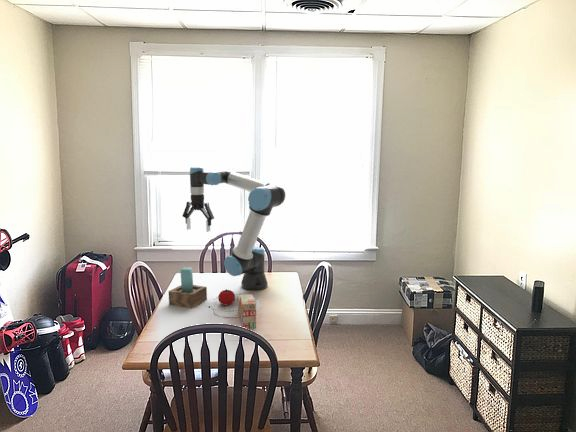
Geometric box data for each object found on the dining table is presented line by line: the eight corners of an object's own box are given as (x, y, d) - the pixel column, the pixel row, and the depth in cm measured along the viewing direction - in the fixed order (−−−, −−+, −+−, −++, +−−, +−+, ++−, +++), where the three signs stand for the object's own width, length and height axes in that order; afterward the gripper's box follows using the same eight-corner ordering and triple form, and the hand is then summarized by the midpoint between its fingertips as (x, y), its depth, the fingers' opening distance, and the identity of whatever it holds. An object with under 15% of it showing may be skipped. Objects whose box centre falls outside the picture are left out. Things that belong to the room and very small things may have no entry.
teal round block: (195, 290, 265) (194, 268, 263) (188, 293, 260) (187, 271, 258) (186, 288, 268) (185, 266, 266) (179, 292, 262) (178, 269, 260)
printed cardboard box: (237, 312, 250) (237, 289, 248) (250, 311, 252) (250, 288, 249) (242, 329, 230) (242, 303, 228) (256, 328, 231) (256, 302, 229)
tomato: (214, 304, 262) (214, 289, 260) (227, 299, 268) (227, 285, 267) (225, 308, 256) (225, 293, 254) (238, 303, 262) (238, 289, 261)
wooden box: (206, 299, 268) (206, 286, 267) (191, 308, 256) (191, 294, 254) (185, 296, 274) (184, 283, 273) (169, 304, 261) (168, 291, 260)
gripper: (219, 194, 286) (220, 230, 290) (183, 191, 296) (184, 227, 300) (212, 195, 279) (213, 233, 283) (175, 193, 289) (176, 229, 293)
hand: (198, 230), depth 291 cm, fingers open, 13 cm apart
